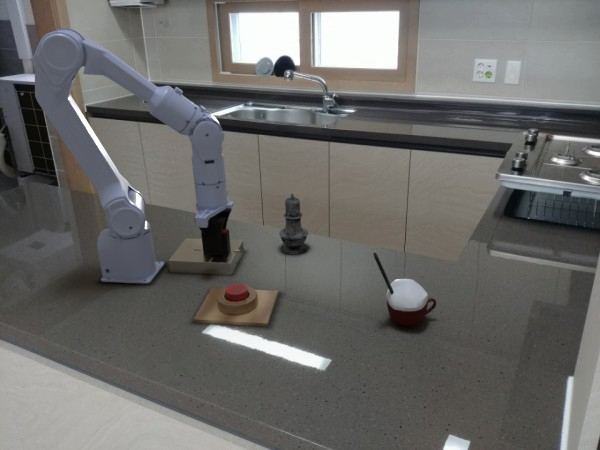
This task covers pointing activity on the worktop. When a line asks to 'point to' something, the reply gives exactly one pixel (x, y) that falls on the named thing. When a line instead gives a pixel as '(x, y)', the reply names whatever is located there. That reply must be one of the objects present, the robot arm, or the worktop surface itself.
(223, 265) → the panel
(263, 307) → the button block
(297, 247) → the salt shaker
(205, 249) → the knob
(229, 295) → the button
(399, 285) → the cocoa
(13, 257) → the worktop surface
